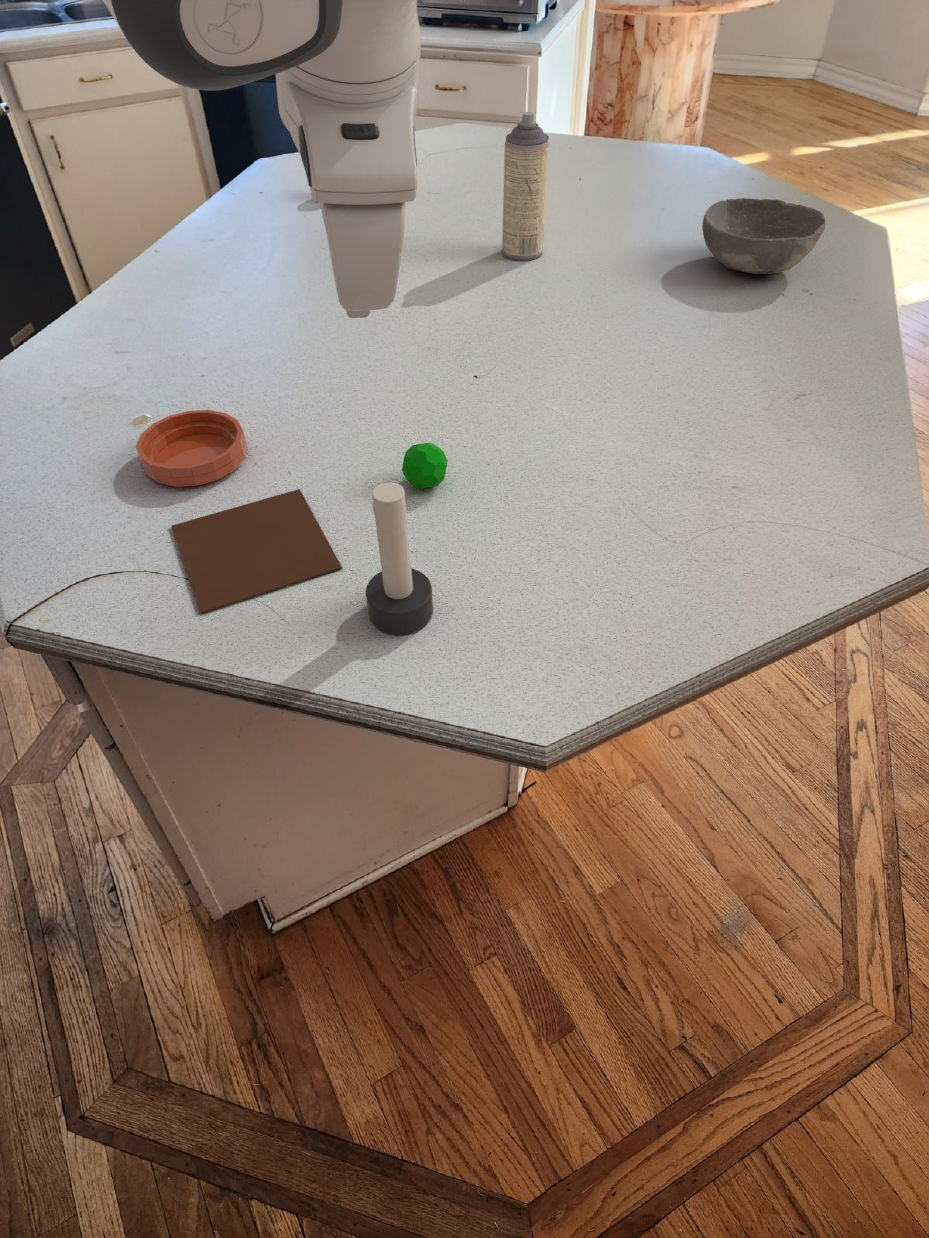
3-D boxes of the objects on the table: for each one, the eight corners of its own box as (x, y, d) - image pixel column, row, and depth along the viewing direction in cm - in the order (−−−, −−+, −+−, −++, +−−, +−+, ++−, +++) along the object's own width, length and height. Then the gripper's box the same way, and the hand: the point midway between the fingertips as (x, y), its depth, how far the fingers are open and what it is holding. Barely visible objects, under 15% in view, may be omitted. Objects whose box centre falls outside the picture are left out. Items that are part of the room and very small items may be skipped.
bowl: (671, 258, 125) (681, 206, 119) (752, 237, 130) (765, 186, 124) (748, 300, 114) (763, 245, 108) (833, 276, 119) (851, 222, 114)
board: (200, 614, 71) (200, 612, 71) (171, 527, 79) (171, 525, 79) (342, 569, 75) (341, 566, 75) (300, 491, 83) (299, 488, 83)
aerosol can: (551, 253, 127) (560, 113, 112) (522, 264, 124) (528, 123, 109) (521, 241, 130) (527, 105, 116) (493, 252, 127) (495, 113, 113)
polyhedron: (455, 476, 85) (454, 440, 81) (437, 501, 82) (435, 465, 78) (415, 466, 86) (412, 430, 83) (395, 490, 83) (392, 454, 80)
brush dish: (155, 502, 82) (146, 479, 80) (137, 447, 90) (129, 425, 87) (259, 473, 86) (253, 451, 84) (234, 422, 93) (228, 401, 91)
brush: (382, 644, 68) (366, 524, 58) (359, 601, 72) (340, 481, 62) (443, 622, 70) (437, 502, 60) (417, 581, 73) (408, 462, 63)
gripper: (280, -14, 51) (295, 176, 64) (315, 199, 43) (324, 367, 56) (374, -11, 52) (370, 175, 65) (422, 198, 45) (408, 362, 57)
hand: (349, 266), depth 60 cm, fingers open, 8 cm apart
